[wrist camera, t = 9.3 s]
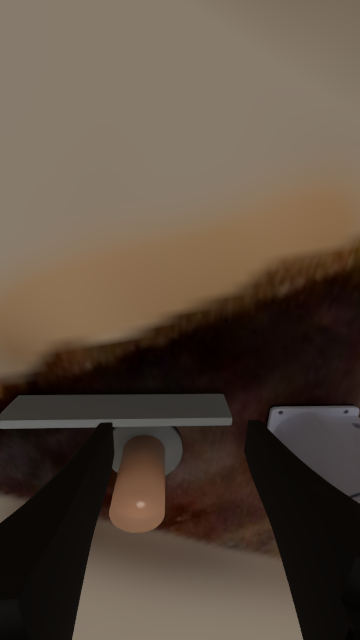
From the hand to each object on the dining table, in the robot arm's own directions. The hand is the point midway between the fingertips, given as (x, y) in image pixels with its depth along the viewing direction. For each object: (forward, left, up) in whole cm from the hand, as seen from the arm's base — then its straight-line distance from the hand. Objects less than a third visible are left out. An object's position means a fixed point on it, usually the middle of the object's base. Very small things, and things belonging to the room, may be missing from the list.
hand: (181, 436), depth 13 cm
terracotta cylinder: (+3, +11, -10) cm, 15 cm away
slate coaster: (+3, +11, -10) cm, 15 cm away
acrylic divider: (+5, +5, -10) cm, 13 cm away
